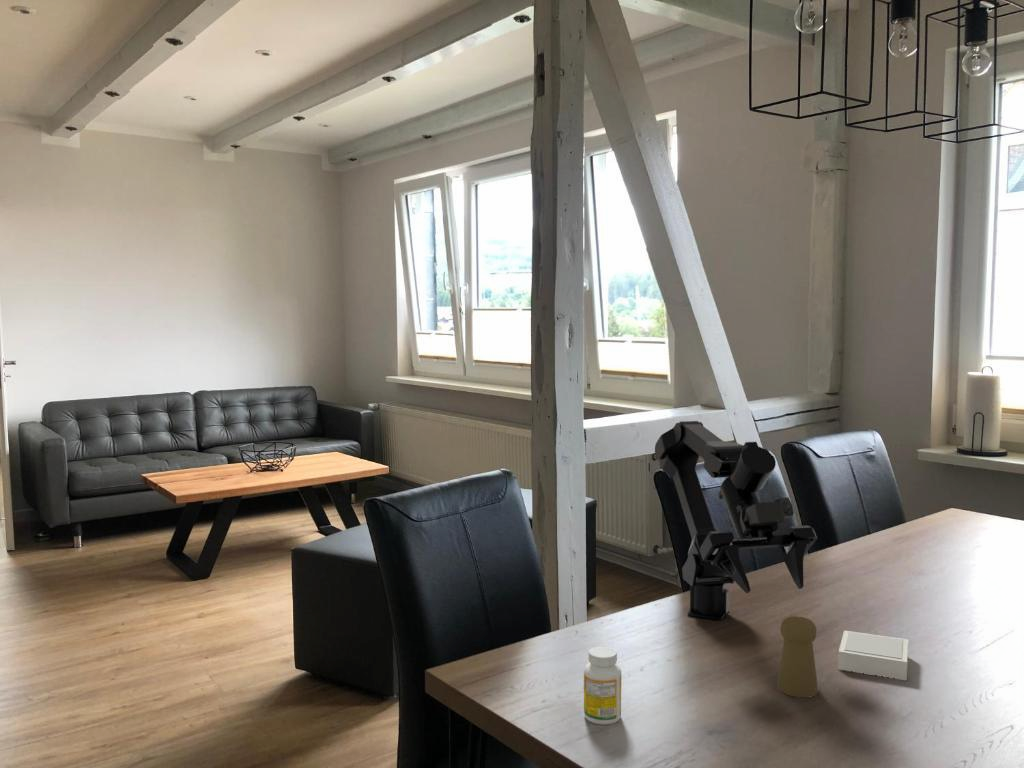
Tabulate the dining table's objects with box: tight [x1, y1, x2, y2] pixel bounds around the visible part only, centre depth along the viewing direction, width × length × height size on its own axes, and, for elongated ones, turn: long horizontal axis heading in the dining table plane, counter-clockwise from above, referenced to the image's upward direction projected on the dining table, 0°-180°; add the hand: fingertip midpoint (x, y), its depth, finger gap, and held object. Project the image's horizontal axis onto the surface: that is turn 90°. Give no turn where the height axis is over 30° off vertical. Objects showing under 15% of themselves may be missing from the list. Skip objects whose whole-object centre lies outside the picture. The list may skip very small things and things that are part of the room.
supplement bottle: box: [583, 646, 622, 726], centre depth 122 cm, size 5×5×10 cm
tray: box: [837, 630, 909, 681], centre depth 139 cm, size 10×10×3 cm
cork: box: [776, 615, 819, 698], centre depth 130 cm, size 6×6×11 cm
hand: (775, 589), depth 137 cm, fingers open, 9 cm apart
